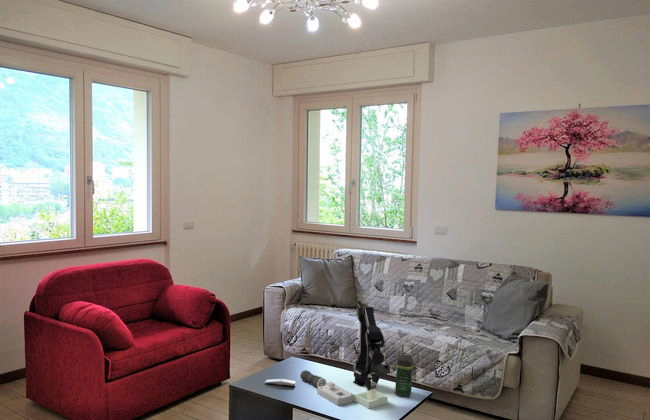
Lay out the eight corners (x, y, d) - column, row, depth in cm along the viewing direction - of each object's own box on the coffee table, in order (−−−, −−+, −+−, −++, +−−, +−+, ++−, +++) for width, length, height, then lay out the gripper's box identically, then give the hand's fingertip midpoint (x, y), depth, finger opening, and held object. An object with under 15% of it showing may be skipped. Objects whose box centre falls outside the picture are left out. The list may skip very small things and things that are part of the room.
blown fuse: (371, 397, 240) (371, 380, 239) (375, 399, 237) (376, 382, 237) (366, 398, 238) (367, 382, 238) (370, 401, 235) (371, 384, 235)
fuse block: (333, 389, 251) (333, 382, 250) (354, 400, 238) (354, 393, 238) (316, 393, 244) (317, 386, 244) (337, 405, 232) (337, 398, 232)
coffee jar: (410, 398, 244) (412, 360, 243) (393, 396, 246) (395, 358, 246) (412, 391, 253) (414, 355, 252) (396, 389, 255) (398, 352, 255)
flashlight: (299, 380, 261) (299, 370, 261) (307, 378, 264) (307, 368, 264) (317, 390, 249) (318, 379, 249) (325, 388, 252) (326, 377, 252)
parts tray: (372, 395, 245) (373, 389, 245) (387, 403, 237) (387, 396, 237) (354, 400, 238) (354, 394, 238) (368, 408, 230) (368, 402, 230)
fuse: (330, 392, 246) (331, 381, 246) (334, 394, 244) (335, 383, 244) (325, 393, 245) (326, 382, 244) (329, 396, 242) (330, 384, 242)
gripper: (370, 365, 225) (368, 399, 225) (399, 358, 236) (397, 391, 237) (353, 358, 234) (351, 391, 234) (382, 352, 245) (381, 383, 246)
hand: (371, 389), depth 237 cm, fingers closed on blown fuse, 3 cm apart
